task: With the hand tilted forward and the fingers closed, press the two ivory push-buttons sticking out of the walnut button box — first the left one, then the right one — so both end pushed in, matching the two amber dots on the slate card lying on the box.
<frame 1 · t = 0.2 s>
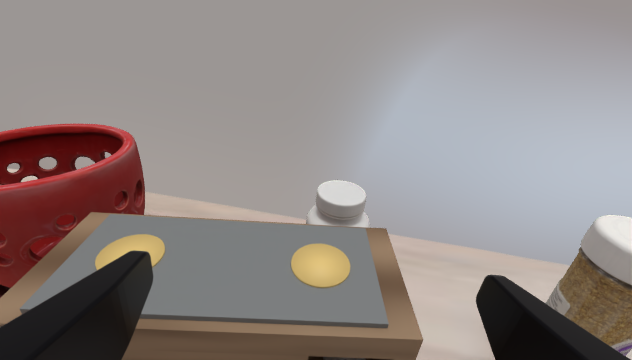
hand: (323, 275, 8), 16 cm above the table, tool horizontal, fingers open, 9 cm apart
plant pot: (80, 268, 29), on the table
supplement bottle: (329, 280, 30), on the table
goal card: (227, 264, 17), resting on button box
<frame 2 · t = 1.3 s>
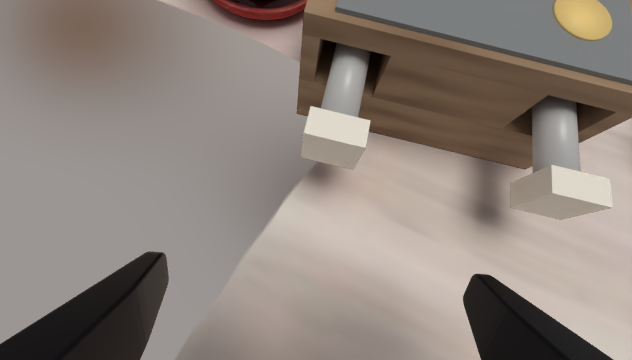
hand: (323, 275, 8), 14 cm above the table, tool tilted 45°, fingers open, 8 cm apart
button box: (417, 99, 27), on the table
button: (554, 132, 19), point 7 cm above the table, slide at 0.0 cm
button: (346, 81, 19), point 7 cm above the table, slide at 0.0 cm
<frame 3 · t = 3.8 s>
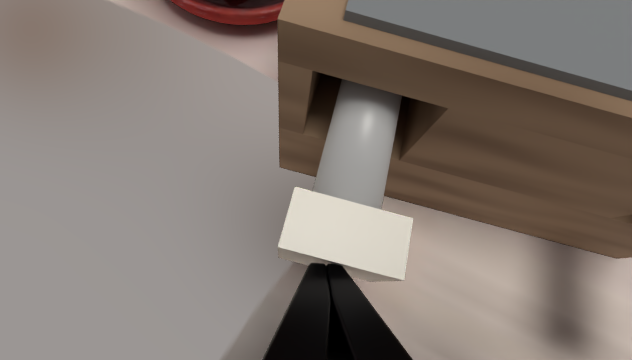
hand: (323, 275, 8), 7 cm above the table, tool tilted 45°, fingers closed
button box: (457, 148, 18), on the table
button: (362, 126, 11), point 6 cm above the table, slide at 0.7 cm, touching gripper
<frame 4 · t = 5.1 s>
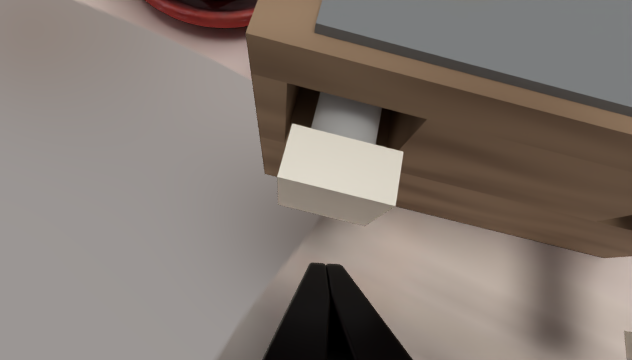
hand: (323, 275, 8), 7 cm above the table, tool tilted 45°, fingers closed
button box: (444, 150, 18), on the table
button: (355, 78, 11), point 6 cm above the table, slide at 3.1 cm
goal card: (621, 9, 9), resting on button box
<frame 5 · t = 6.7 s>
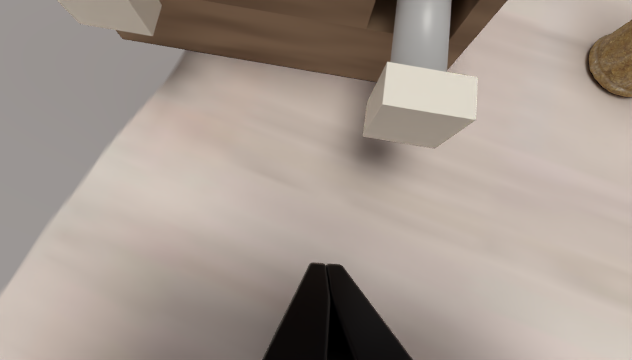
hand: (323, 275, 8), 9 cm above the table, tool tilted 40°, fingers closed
button box: (289, 9, 20), on the table
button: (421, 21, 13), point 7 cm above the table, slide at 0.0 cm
sprinkles bottle: (614, 69, 21), on the table
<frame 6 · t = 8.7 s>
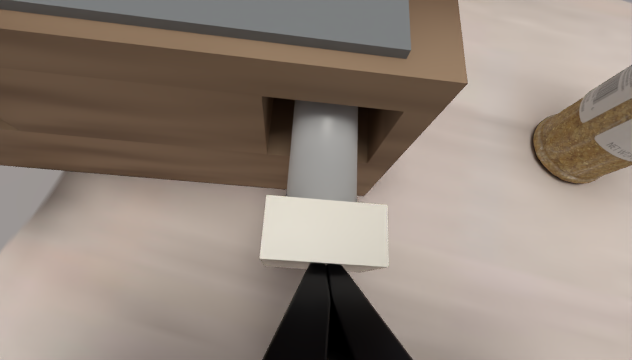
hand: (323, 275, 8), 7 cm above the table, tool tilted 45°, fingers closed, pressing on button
button box: (195, 112, 18), on the table
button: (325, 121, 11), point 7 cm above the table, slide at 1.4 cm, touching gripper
sprinkles bottle: (562, 151, 20), on the table
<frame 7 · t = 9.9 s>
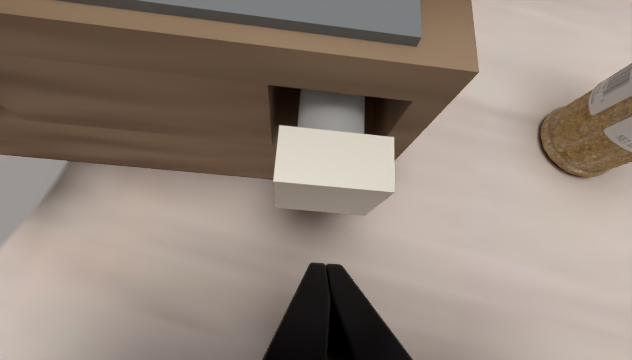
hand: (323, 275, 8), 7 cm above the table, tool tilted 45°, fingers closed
button box: (199, 102, 17), on the table
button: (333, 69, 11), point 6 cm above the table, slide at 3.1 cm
sprinkles bottle: (569, 144, 19), on the table
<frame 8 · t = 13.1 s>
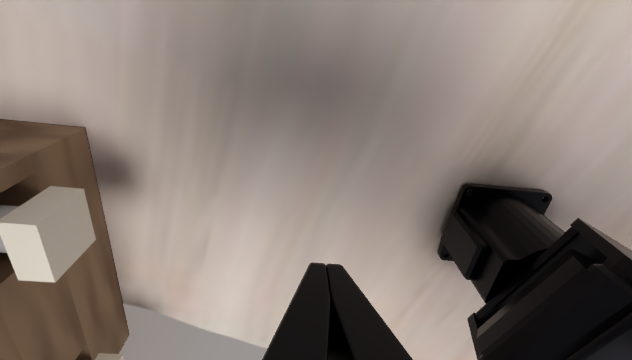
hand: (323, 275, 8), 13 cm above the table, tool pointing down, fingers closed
button box: (54, 245, 24), on the table
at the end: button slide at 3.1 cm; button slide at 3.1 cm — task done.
